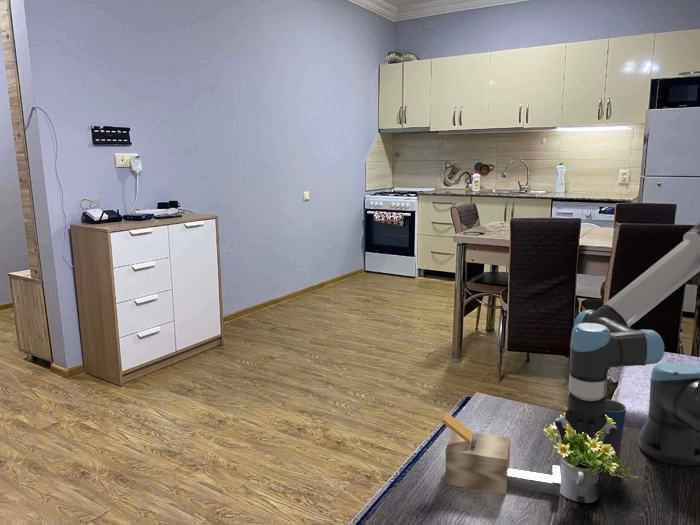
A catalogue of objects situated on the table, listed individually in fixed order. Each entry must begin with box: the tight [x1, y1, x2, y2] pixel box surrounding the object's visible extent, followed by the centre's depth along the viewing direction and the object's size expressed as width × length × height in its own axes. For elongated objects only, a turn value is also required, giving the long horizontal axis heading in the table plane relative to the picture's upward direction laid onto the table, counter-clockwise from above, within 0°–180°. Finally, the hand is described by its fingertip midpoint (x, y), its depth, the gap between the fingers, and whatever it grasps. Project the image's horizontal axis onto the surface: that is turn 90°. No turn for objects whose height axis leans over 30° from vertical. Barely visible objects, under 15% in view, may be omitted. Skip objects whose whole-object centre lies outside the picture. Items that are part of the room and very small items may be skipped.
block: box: [445, 430, 511, 496], centre depth 128 cm, size 14×10×9 cm
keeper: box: [441, 411, 478, 447], centre depth 128 cm, size 10×5×1 cm
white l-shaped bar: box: [507, 464, 562, 497], centre depth 125 cm, size 18×7×4 cm, turn 70°
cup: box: [605, 399, 627, 459], centre depth 132 cm, size 7×7×15 cm
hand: (581, 489), depth 120 cm, fingers closed
